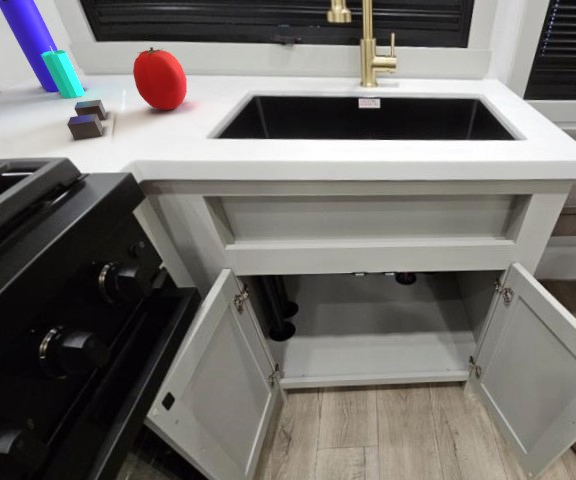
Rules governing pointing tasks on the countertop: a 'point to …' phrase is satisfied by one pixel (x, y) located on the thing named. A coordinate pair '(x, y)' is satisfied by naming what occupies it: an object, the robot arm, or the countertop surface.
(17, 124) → the countertop surface
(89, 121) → the dark grey block
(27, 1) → the bottle
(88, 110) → the dark brown block
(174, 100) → the tomato
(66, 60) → the candle
